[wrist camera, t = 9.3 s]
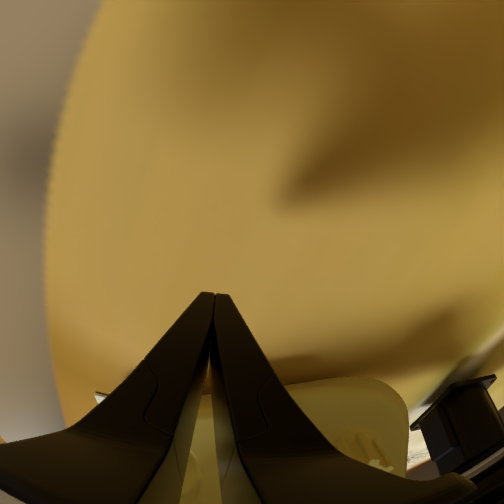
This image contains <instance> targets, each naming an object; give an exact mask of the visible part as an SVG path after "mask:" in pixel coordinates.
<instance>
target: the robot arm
mask: <svg viewBox="0 0 504 504" xmlns="http://www.w3.org/2000/svg"><path fill="white" fill-rule="evenodd" d="M214 300H215V302H214ZM213 311H214V312H213ZM210 344H211V345H210ZM209 355H210V358H209ZM208 363H209V369H210V385H211V399H212V411H213V423H214V434H215V445H216V455H217V464H218V474H219V482H220V489H221V499H222V504H504V456H503V457H502V458H500V459H499V460H498V461H496V462H495V463H493V464H492V465H490V466H489V467H487V468H485V469H484V470H482V471H481V472H479V473H477V474H476V475H474V476H472V477H471V478H469V479H468V478H466V477H464V476H466V475H467V474H469V473H471V472H473V471H474V470H476V469H477V468H479V467H481V466H482V465H483V464H485V463H487V462H488V461H490V460H491V459H493V458H494V457H496V456H497V455H499V454H500V453H501V452H503V451H504V423H503V421H502V419H501V416H500V415H499V412H498V410H497V408H496V406H495V404H494V402H493V400H492V398H491V397H490V395H489V393H488V391H487V389H488V388H489V387H490V386H491V385H492V384H493V382H494V381H495V380H496V379H497V377H496V375H495V374H492V375H488V376H484V377H479V378H475V379H470V380H466V381H461V382H456V383H453V384H451V385H450V386H449V387H448V388H447V389H446V390H445V391H444V392H443V393H442V394H441V395H440V397H439V398H438V399H437V400H436V401H435V402H434V403H433V404H432V405H431V406H430V407H429V408H428V409H427V410H426V411H425V412H424V413H423V414H422V415H421V416H420V417H419V418H418V419H417V420H416V421H415V422H414V423H412V424H411V425H410V430H411V431H415V430H419V429H421V431H422V434H423V437H424V440H425V443H426V445H427V448H428V451H429V454H430V457H431V460H432V462H435V463H436V466H437V469H438V472H439V475H440V477H437V478H435V479H432V480H425V481H418V480H411V479H407V478H403V477H400V476H397V475H395V474H392V473H389V472H386V471H383V470H381V469H378V468H375V467H373V466H370V465H368V464H365V463H363V462H360V461H358V460H355V459H353V458H351V457H349V456H347V455H345V454H343V453H342V452H341V451H339V450H338V449H337V448H335V447H334V446H333V445H332V444H331V443H330V442H329V441H328V440H327V438H326V437H325V436H324V435H323V434H322V433H321V432H320V430H319V429H318V428H317V427H316V426H315V425H314V424H313V422H312V421H311V420H310V419H309V418H308V417H307V415H306V414H305V413H304V412H303V411H302V410H301V408H300V407H299V406H298V404H297V403H296V402H295V401H294V399H293V398H292V397H291V396H290V394H289V393H288V391H287V390H286V388H285V387H284V385H283V384H282V382H281V381H280V379H279V377H278V376H277V374H276V373H274V372H275V371H274V369H273V368H272V366H271V364H270V363H269V361H268V360H267V358H266V356H265V355H264V353H263V351H262V350H261V348H260V346H259V345H258V343H257V341H256V340H255V338H254V336H253V335H252V333H251V331H250V329H249V328H248V326H247V324H246V323H245V321H244V319H243V318H242V316H241V314H240V312H239V311H238V309H237V307H236V306H235V304H234V302H233V300H232V299H231V297H230V295H228V294H221V293H217V294H216V295H215V294H214V293H211V292H201V293H200V294H199V295H198V296H197V297H196V298H195V300H194V301H193V302H192V303H191V304H190V305H189V306H188V308H187V309H186V310H185V311H184V312H183V313H182V315H181V316H180V317H179V318H178V319H177V320H176V321H175V323H174V324H173V325H172V326H171V327H170V328H169V330H168V331H167V332H166V333H165V334H164V335H163V337H162V338H161V339H160V340H159V341H158V342H157V344H156V345H155V346H154V347H153V348H152V349H151V351H150V352H149V353H148V354H147V355H146V356H145V358H144V360H142V361H141V362H140V363H139V365H138V366H137V367H136V368H135V369H134V370H133V371H132V372H131V374H130V375H129V376H128V377H127V378H126V379H125V380H124V381H123V382H122V383H121V384H120V385H119V386H118V387H117V388H116V389H115V390H114V391H112V392H111V393H110V394H109V395H108V396H107V397H106V398H105V399H103V400H102V401H101V402H100V403H99V404H98V405H97V406H96V407H94V408H93V409H92V410H91V411H90V412H89V413H88V414H87V415H85V416H84V417H83V418H82V419H81V420H80V421H78V422H77V423H75V424H74V425H72V426H70V427H69V428H67V429H64V430H62V431H58V432H54V433H51V434H46V435H43V436H38V437H34V438H29V439H24V440H20V441H15V442H10V443H2V444H0V504H179V503H180V498H181V493H182V486H183V482H184V477H185V472H186V467H187V463H188V458H189V453H190V448H191V443H192V438H193V434H194V429H195V424H196V419H197V415H198V410H199V405H200V401H201V396H202V391H203V387H204V382H205V378H206V373H207V369H208Z"/></svg>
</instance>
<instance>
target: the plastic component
mask: <svg viewBox="0 0 504 504" xmlns="http://www.w3.org/2000/svg"><path fill="white" fill-rule="evenodd" d="M284 387H285V388H286V390H287V391H288V393H289V394H290V396H291V397H292V398H293V399H294V401H295V402H296V403H297V404H298V406H299V407H300V408H301V410H302V411H303V412H304V413H305V414H306V415H307V417H308V418H309V419H310V420H311V421H312V422H313V424H314V425H315V426H316V427H317V428H318V429H319V430H320V432H321V433H322V434H323V435H324V436H325V437H326V438H327V440H328V441H329V442H330V443H331V444H332V445H333V446H334V447H335V448H337V449H338V450H339V451H341V452H342V453H343V454H345V455H347V456H349V457H351V458H353V459H355V460H358V461H360V462H363V463H365V464H368V465H370V466H373V467H375V468H378V469H381V470H383V471H386V472H389V473H392V474H395V475H397V476H400V477H403V478H405V477H406V469H407V454H408V441H409V418H408V411H407V407H406V405H405V403H404V401H403V399H402V398H401V397H400V395H399V394H398V393H397V392H396V391H395V390H394V389H393V388H392V387H390V386H389V385H387V384H385V383H383V382H381V381H379V380H376V379H372V378H366V377H339V378H330V379H322V380H316V381H310V382H304V383H297V384H290V385H284ZM179 504H222V499H221V489H220V482H219V474H218V464H217V455H216V445H215V434H214V423H213V411H212V399H211V394H204V395H202V396H201V401H200V405H199V410H198V415H197V419H196V424H195V429H194V434H193V438H192V443H191V448H190V453H189V458H188V463H187V467H186V472H185V477H184V482H183V486H182V493H181V498H180V503H179Z"/></svg>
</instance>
